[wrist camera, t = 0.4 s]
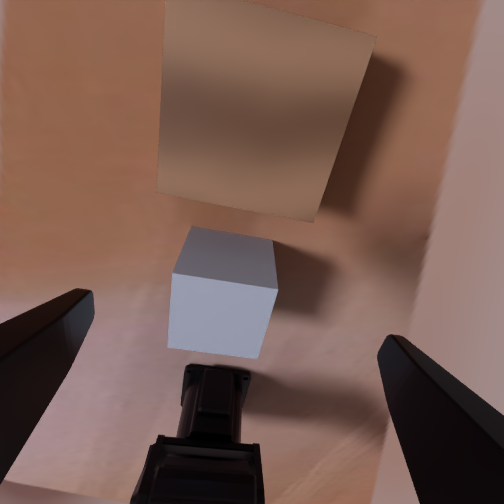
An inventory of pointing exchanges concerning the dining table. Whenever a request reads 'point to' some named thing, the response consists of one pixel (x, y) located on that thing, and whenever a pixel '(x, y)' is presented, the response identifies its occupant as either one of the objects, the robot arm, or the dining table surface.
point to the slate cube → (222, 293)
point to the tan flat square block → (254, 104)
